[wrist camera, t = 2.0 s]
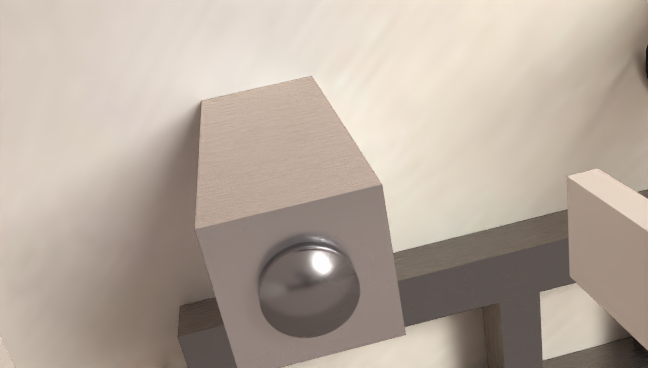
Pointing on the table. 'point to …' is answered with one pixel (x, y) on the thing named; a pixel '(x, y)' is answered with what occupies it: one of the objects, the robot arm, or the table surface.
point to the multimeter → (647, 61)
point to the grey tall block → (292, 228)
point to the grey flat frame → (461, 297)
